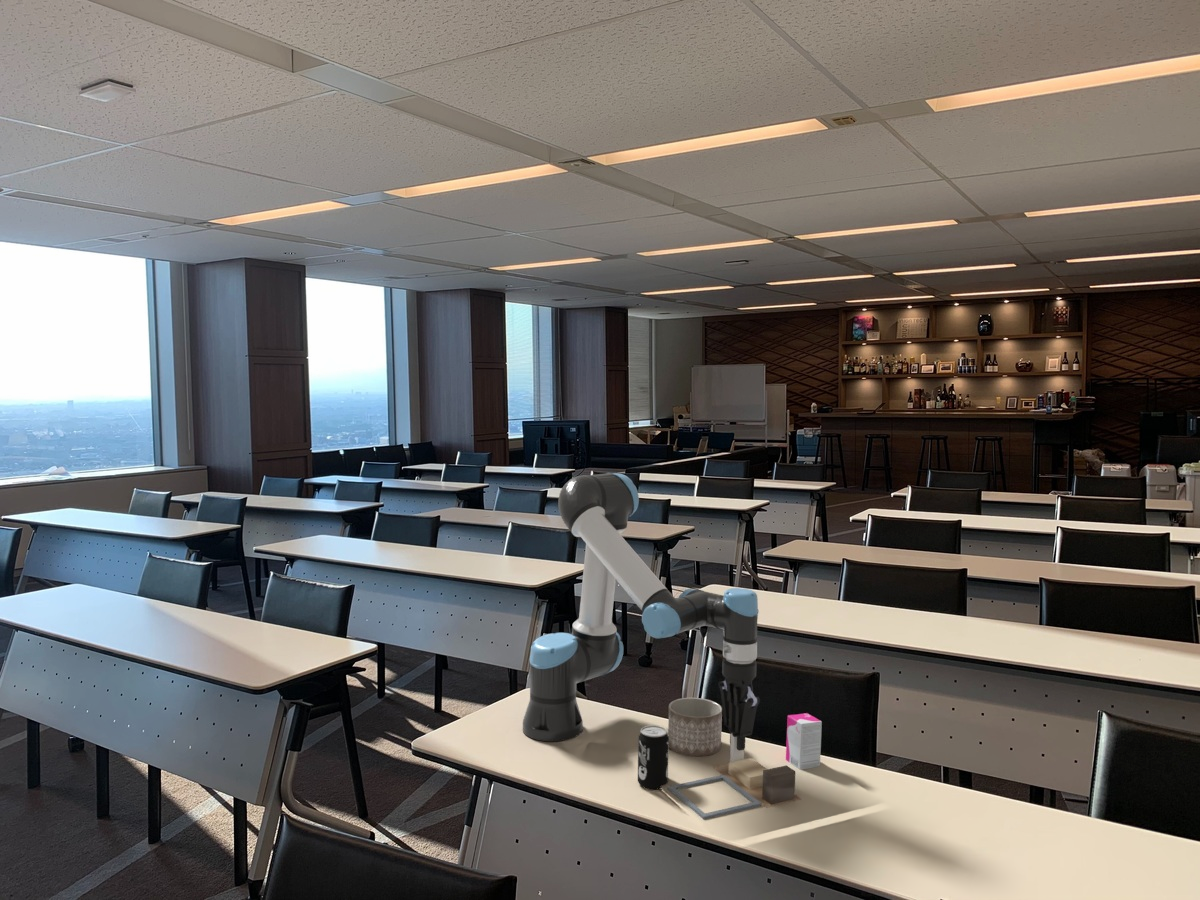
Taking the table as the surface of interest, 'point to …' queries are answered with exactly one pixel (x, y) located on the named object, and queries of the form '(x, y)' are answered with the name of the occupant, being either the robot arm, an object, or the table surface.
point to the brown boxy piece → (769, 785)
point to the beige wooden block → (747, 772)
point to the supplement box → (803, 741)
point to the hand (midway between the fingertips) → (737, 761)
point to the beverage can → (653, 757)
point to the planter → (695, 726)
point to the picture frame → (720, 812)
